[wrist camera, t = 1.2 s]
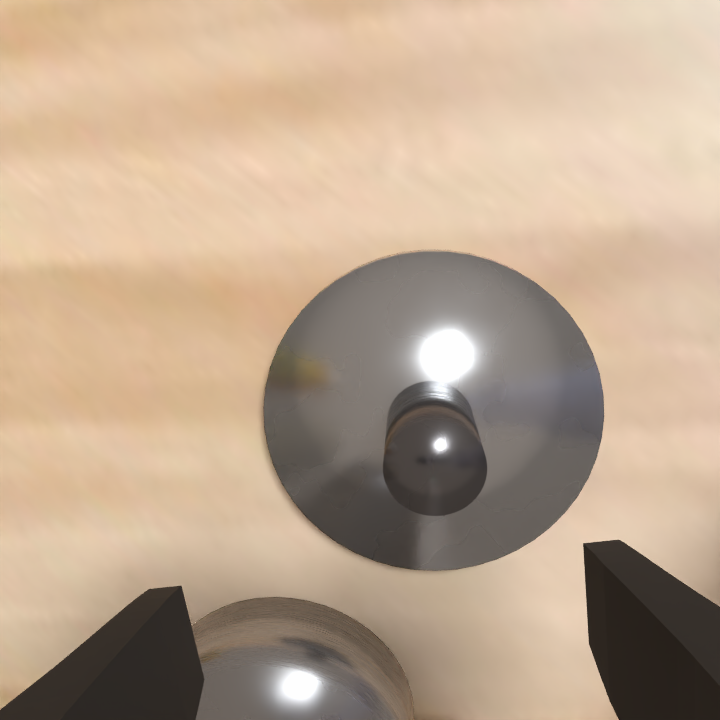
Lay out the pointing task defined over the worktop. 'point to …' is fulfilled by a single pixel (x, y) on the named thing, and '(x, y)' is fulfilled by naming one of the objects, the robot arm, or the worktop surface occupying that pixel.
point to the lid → (433, 410)
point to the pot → (296, 665)
